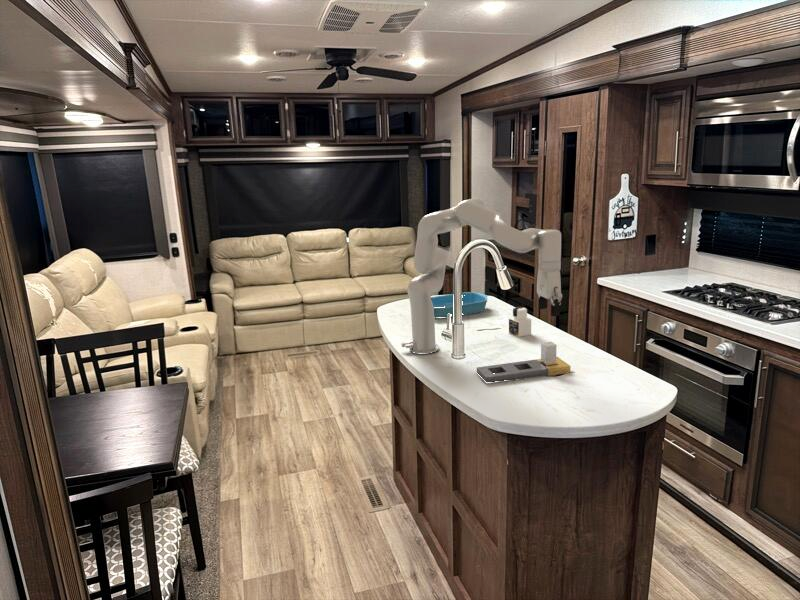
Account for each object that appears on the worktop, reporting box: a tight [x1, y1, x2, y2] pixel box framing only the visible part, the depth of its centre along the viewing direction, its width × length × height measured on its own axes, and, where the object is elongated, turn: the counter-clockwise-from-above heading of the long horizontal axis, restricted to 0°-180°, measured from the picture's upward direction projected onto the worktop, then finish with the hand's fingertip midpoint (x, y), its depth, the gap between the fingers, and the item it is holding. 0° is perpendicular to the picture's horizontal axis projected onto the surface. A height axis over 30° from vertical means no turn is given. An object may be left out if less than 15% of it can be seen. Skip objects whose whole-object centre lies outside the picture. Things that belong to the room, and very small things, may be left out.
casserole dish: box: [431, 291, 488, 318], centre depth 282 cm, size 37×22×7 cm, turn 108°
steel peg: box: [540, 341, 557, 367], centre depth 200 cm, size 4×4×10 cm
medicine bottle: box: [508, 306, 532, 338], centre depth 241 cm, size 7×7×12 cm
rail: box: [476, 356, 571, 382], centre depth 199 cm, size 32×10×2 cm, turn 101°
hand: (548, 312), depth 195 cm, fingers open, 9 cm apart
